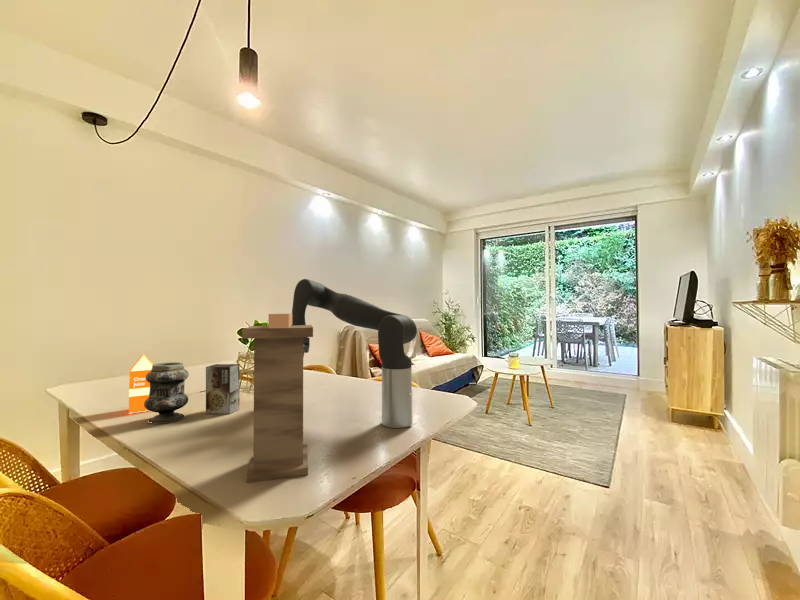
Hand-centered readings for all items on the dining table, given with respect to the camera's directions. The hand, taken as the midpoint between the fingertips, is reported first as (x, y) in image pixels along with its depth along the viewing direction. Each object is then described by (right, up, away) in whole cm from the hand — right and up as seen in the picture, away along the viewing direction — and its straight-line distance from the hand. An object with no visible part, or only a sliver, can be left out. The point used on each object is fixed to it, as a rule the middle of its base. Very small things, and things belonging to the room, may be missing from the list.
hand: (284, 335), depth 104 cm
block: (+5, +4, -17) cm, 18 cm away
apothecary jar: (-42, -29, +11) cm, 52 cm away
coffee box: (-28, -29, +20) cm, 45 cm away
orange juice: (-58, -29, +22) cm, 69 cm away
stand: (+6, -27, -23) cm, 36 cm away
